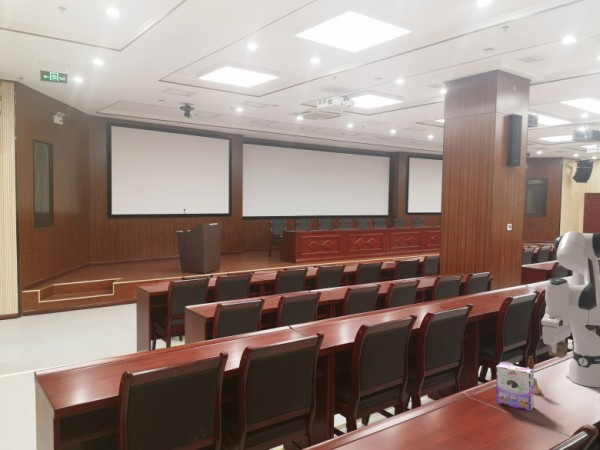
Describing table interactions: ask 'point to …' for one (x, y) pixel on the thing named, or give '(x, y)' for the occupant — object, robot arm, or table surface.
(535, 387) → the hand bell
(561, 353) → the walnut cube
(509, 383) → the candy box
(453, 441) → the table surface
